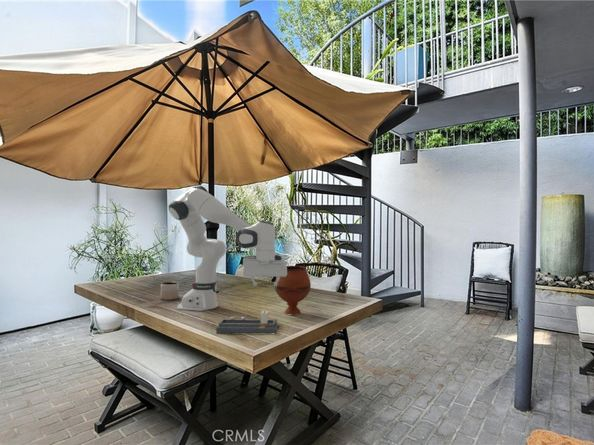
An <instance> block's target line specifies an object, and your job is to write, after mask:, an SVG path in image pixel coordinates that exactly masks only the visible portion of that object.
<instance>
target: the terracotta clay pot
mask: <svg viewBox="0 0 594 445" xmlns="http://www.w3.org/2000/svg"><path fill="white" fill-rule="evenodd" d="M276 281H277V279H276V278H275V281H274V282H276ZM274 289H275V292H276V294H277V296H278V297H279V298H280V299H281V300H282V301H284V302H286V305H287V308H286V309H285V310H284V314H285V313H286V314H292V315H291V316H295V315H294V314H299V315H301V314H302V312H301V310H300V309H299V308H298V304H299V303H300V302H301V301H303V300H304V299H306V297H307V296H308V295H309V293H310V291H311V279H310V277H309V274H308V271H307V267H306V266H305V265H304V266H303V265H287V276H286V277H280V279H279V281H278V282H277V286H274ZM300 313H301V314H300ZM286 314H285V315H286Z"/></svg>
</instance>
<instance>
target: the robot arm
mask: <svg viewBox="0 0 594 445" xmlns="http://www.w3.org/2000/svg"><path fill="white" fill-rule="evenodd" d="M168 211H169V213H170V215H171V216H172V217H173V219H175V220H178V221H179V223H180V224H181V226H182V228H183V230H184V232H185V234H186V236H187V239H188V242H187V244H186V251H187V253H188V254H189V255H190V256H193V257H196V258H202V260H201V263H200V265H198V266H196V268H195V281H193V283H192V284H191V287H192V288H191V289H190V290H189V291H188V292H186V293H185V294H184V295H183V296H182V297H181V303H178V305H177V306H176V309H177V310H183V311H196V312H197V311H199V312H203V311H207V310H212V309H213V310H214V309H216V308H218V307H219V303H218V299H217V298H218V297H217V289H218V287H217V286H218V285H217V278H216V277H217V276H216V275H217V266H218V264H219V261H220V260H221V259H222V257H224V255H225V254H226V250H227V247H226V243H225V242H224V241H222V240H220V239H215V238H208V237H206V235H205V234H206V231H207V226H206V223H205V222H204V220H203V219H205V220H207V221H208V222H211V223H215V224H219V225H224V226H225V225H226V226H228V227H230V228H232V229H234V230H235V231H236V232H237V233H236V236H235V240H236V244H237V245H238V246H239V247H240V248H242V249H245V250H247V249H254V248H255V255H251V256H250V255H247V256H245V257H243V259H242V265H243V271H242V275H243V276H244V277H250V279H251V281H252V284H253V285H252V286H253V287H257V286H258V282H257V281H255V277H261V278H262V277H266V278H267V277H276V278H275V281H276V279H277V281H276V282H275V281H274V282H273V287H275V286H277V282H278V281H279V279H280V277H286V276H287V266H288V265H287V262H286V261H285V259H286V258H285V255H284V254H282V253H278V252H276V247H275V242H276V228H275V225H274V224H273V223H272V222H271V221H267V220H258V221H257V222H256V223H254V224H253V225H252V224H250V222H249V223H248V222H247V221H245V219H243V218H241V217H240V216H238V215H237V214H235V213H234V212H233V211H231V210H230V209H229V208H228V207H227V206H226V205H225V204H224V203H222V202H221V201H220V200H219V199H218V198H216V197H214V195H212V194H211V193H209V191H208V190H207V189H206V187H204V186H202V185H199V184H198V185H196V186H195V185H194V186H192V188H190V189H187V190H186V191H185V192H183V193H182V194H181V195H179V196H178V197H177V198H175V200H172V201H171V202H170V203H169V204H168Z"/></svg>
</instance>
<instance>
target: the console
mask: <svg viewBox="0 0 594 445" xmlns="http://www.w3.org/2000/svg"><path fill="white" fill-rule="evenodd" d="M277 327H278V319H276V318H273V319H268V324H261V319H258V318H257V319H253V318H252V319H251V318H249V319H247V318H246V316H241V318H236V317H235V316H230V318H223V317H222V319H220V321H219V322H218V325H217V326H216V327H215V328H216V331H215V333H216V334H225V333H276V334H277V329H278V328H277ZM276 328H277V329H276Z"/></svg>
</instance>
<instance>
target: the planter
mask: <svg viewBox="0 0 594 445" xmlns="http://www.w3.org/2000/svg"><path fill="white" fill-rule="evenodd" d="M179 298H180V283H179V282H178V281H165V282H160V299H161V300H163V301H171V300H172V301H174V300H176V299H179Z"/></svg>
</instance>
